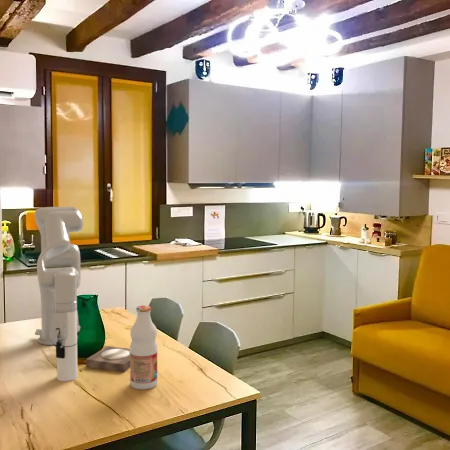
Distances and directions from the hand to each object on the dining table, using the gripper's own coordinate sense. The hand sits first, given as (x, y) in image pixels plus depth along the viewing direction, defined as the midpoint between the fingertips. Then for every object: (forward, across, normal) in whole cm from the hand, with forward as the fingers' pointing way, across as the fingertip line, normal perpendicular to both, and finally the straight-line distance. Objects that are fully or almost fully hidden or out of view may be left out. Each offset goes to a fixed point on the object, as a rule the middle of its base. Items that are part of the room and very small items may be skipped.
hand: (66, 353), depth 191 cm
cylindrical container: (+9, 0, 0) cm, 9 cm away
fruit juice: (+9, -3, +29) cm, 31 cm away
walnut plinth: (+9, -19, +9) cm, 23 cm away
